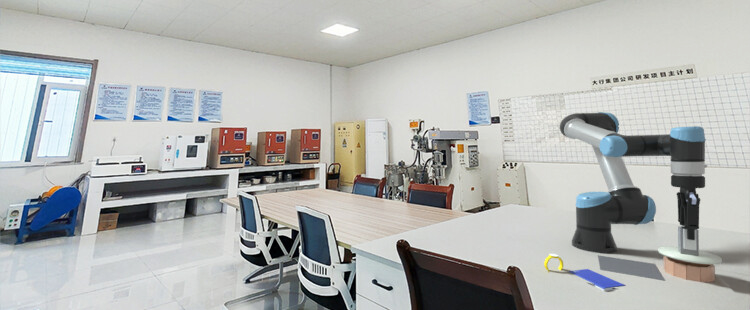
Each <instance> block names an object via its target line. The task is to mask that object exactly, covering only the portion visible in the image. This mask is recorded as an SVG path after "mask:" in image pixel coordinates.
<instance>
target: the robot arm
mask: <svg viewBox="0 0 750 310" xmlns="http://www.w3.org/2000/svg"><path fill="white" fill-rule="evenodd" d="M619 122H620V121H619V120H618V118H617V116H616V115H615V114H613V113H611V112H603V111H602V112H601V111H600V112H580V113H579V112H578V113H571V114H568V115H567V116H565V117H564V118H563V119H562V120H561V121H560V124H559V131H560V133H561V135H563V136H564V137H566V138H568V139H572V140H579V141H581V142H583V143H587V144H588V145H591V147H592V148H593V152H594V154H595V156H596V159H597V163H598V166H599V168H600V170H601V174H602V176H603V179H604V181H605V183H606V187H607V189H608V191H607V192H606V191H588V192H587V191H586V192H582V193H579V194H578V195H577V196H576V198H575V216H576V224H575V225H576V229H575V231H574V234H573V237H572V239H571V246H572V247H574V248H575V249H578V250H582V251H585V252H590V253H595V254H596V253H597V254H613V253H614V254H615V253H617V251H618V247H617V244H616V241H615V238H614V236H613V233H612V225H633V226H634V225H635V226H638V225H645V224H646V225H647V224H649V223H651V222H652V221H653V220H654V218H655V215H656V212H657V206H656V203H655V201H654V199H653V198H652V197H650V196H649V195H645V194H643V192H642V191H641V188H640V187H638V186H635V185H634V183H633V180H632V178H631V176H630V173H629V171H628V169H627V167H626V165H625V162H624V160H623V157H627V158H628V157H670V174H672V175H671V176H670V184H671V187H674V188H679V191H678V192H676V197H677V198H676V199H677V221H678V223H679V227H682V229H683V234H684V249H689V250H697V243H696V230H697V229H698V230H699V229H700V203H701V198H700V197H699V196H700V195H699V193H697V191H696V189H704V188H705V187H706V177H705V176H704V174H706V172H705V171H706V169H705V168H708V164H706V163H705V161H706V138H705V137H706V136H705V129H704V128H703V127H701V126H679V127H677V126H676V127H673V128H671V129H670V133H669V134H645V135H644V134H642V135H641V134H640V135H624V134H620V133H619V131H620V127H619V126H620V123H619Z"/></svg>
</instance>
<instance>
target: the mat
mask: <svg viewBox="0 0 750 310" xmlns="http://www.w3.org/2000/svg"><path fill="white" fill-rule="evenodd" d="M597 257H598V259H597V260H598V264H599V270H600V271H604V272H605V271H606V272H611V273H618V274H624V275H628V276H629V275H630V276H636V277H641V278H645V279H653V280H658V281H662V282H663V281H666V279H665V278H664V276H663V274H662V272H660V270H659V268H658V266H657V265H656V264H655V263H650V262H646V261H645V262H644V261H639V260H632V259H625V258H619V257H612V256H611V257H610V256H605V255H597Z"/></svg>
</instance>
